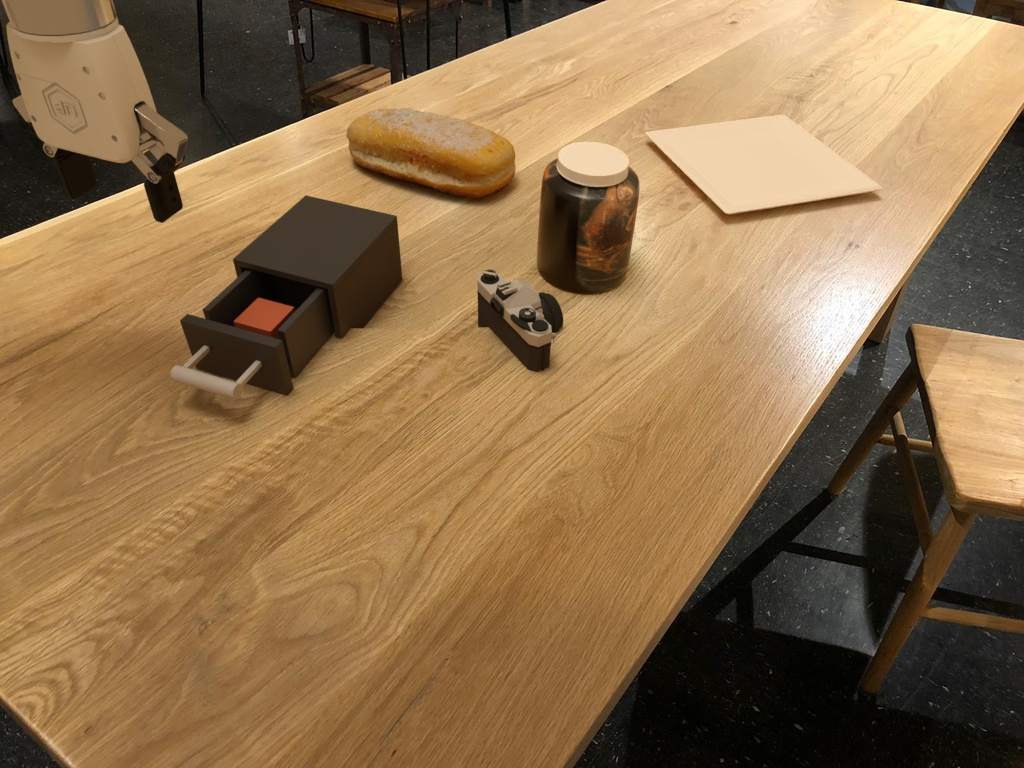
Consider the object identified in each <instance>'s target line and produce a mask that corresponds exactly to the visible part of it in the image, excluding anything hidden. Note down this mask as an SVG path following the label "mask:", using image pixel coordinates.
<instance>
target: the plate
mask: <svg viewBox="0 0 1024 768" xmlns="http://www.w3.org/2000/svg"><path fill="white" fill-rule="evenodd" d="M644 134H645V136H646V137H647V138H648V139H649V140H650V141H651V142H652V143H653V144H654V145H655V146H656V147H657V148H658V149H659V150H660V151H661V152H662V153H663V154H664V155H665V156H666V157H667V158H668V159H669V160H670V161H671V162H672V163H673V164H674V165H675V166H677V168H678V169H679V170H680V171H682V173H683V174H685V176H686V177H687V178H689V180H691V182H692V183H693V184H694V185H695V186H697V188H699V189H700V191H702V192H703V194H705V195H706V196H707V198H708V199H710V200H711V201H712V202H713V203H714V204H715V206H717V207H718V208H719V209H720V210H721V211H722V212H723V214H726V215H728V216H730V215H731V216H732V215H738V214H742V213H743V214H744V213H749V212H755V211H761V210H767V209H774V208H778V207H786V206H792V205H793V206H794V205H797V204H805V203H810V202H816V201H823V200H829V199H835V198H841V197H847V196H853V195H860V194H866V193H872V192H878V191H881V190H882V189H883V186H882V185H880V184H879V183H877V182H876V181H875V180H873V179H872V178H871V177H869V176H868V175H866V174H865V173H864V172H863V171H861V170H860V169H858V168H857V167H856V166H855V165H854V164H852V163H850V162H849V161H848V160H846V159H845V158H844V157H843V156H841V155H840V154H838V153H837V152H836V151H834V150H833V149H831V148H830V147H829V146H827V145H826V144H825V143H823V142H822V141H820V139H818V138H816V137H815V136H814V135H813V134H811V133H810V132H809V131H807V130H806V129H805V128H803V127H801V126H800V125H799V124H798V123H796V122H795V121H793V120H792V119H791V118H789V116H787V115H785V114H774V115H767V116H759V117H751V118H743V119H736V120H735V119H734V120H728V121H720V122H713V123H703V124H695V125H688V126H681V127H673V128H665V129H657V130H650V131H645V132H644Z"/></svg>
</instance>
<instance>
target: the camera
mask: <svg viewBox="0 0 1024 768" xmlns="http://www.w3.org/2000/svg"><path fill="white" fill-rule="evenodd" d="M476 282H477V289H476V290H477V291H476V294H477V328H489V329H490V330H491V332H492V333H493V334H494V335H495V336H496V337H497V338H498V339H499V340H500V341H501V342H502V343H503V344H504V346H506V348H507V349H508V350H509V351H510V352H511V353H512V354H513V355H514V356H515V357H516V358H517V360H518V361H519V362H520V363H521V364H522V365H523V366H524V367H525V368H526V369H527V370H529V371H532V372H534V373H539V372H540V371H542V372H545V369H548V368H550V359H551V346H552V344H555V340H556V338H557V334H556V333H558V332H559V331H560V330H561V329H562V328H563V325H564V313H563V311H562V308H561V305H560V303H559V301H558V300H557V298H556V297H555V296H554V295H553V294H551V293H549V292H544V291H540V292H537V291H536V289H535V288H533V286H531V285H530V284H529V283H528V282H527V281H526V280H525V279H522V278H521V279H520V278H516V279H515V280H513V281H512V280H510V279H508V280H505V278H503V277H502V276H501V275H500V274H499V273H497V271H496V270H494V269H486V270H484V271H483V273H479V274H477V281H476Z"/></svg>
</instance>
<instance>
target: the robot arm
mask: <svg viewBox="0 0 1024 768" xmlns="http://www.w3.org/2000/svg"><path fill="white" fill-rule="evenodd" d="M1 2H2V4H3V7H4V10H5V13H6V15H7V18H8V20H9V21H8V22H7V24H6V26H5V28H6V37H7V42H8V48H9V53H10V58H11V63H12V65H13V70H14V73H15V77H16V81H17V84H18V88H19V90H20V95H19V96H16V97H15V98H12V104H13V106H14V108H15V109H16V110H17V112H18V113H19V115H20V116H21V117H22V119H23V120H24V121H25V122H27V128H28V129H29V132H31V133H32V134H33V135H34V136H35V138H37V139H38V140H39V141H40V143H42V144H43V145H42V149H43V151H44V153H45V154H46V155H47V156H48V157H50V158H52V161H53V164H54V166H55V170H56V171H57V175H58V176H59V180H60V182H61V184H62V187H63V190H64V192H65V194H66V197H67V198H69V199H73V200H75V199H78V198H79V197H81V196H83V195H84V194H86V193H87V192H89V191H90V190H92V189H93V188H96V187H97V186H98V181H97V178H96V174H95V172H94V170H93V166H92V164H91V161H90V159H89V157H92V158H96V159H99V160H104V161H108V162H111V163H116V164H126V163H129V162H132V163H133V164H134V165H135V166H136V168H137V169H138V170H139V171H140V172H141V173H142V174H143V176H145V177H146V178H147V180H145V181H143V187H144V190H145V194H146V197H147V200H148V203H149V207H150V210H151V213H152V217H153V219H154V221H155V222H157V223H161V224H163V223H165V222H166V221H167V220H169V219H170V218H171V217H173V216H175V215H176V214H177V213H179V212H180V211H181V210H183V207H184V203H183V200H182V196H181V193H180V188H179V185H178V182H177V178H176V175H175V172H177V171H178V170H179V169H180V166H181V164H182V163H183V162H184V161H185V159H186V154H185V153H186V150H187V146H188V142H189V137H188V135H187V134H186V133H185V131H183V130H182V129H180V128H179V127H178V126H177V125H174V124H173V123H172V122H171V121H169V120H168V119H166V118H165V117H163V116H162V115H161V114H159V113H158V112H157V107H156V105H155V102H154V98H153V95H152V93H151V89H150V85H149V83H148V80H147V78H146V75H145V73H144V70H143V67H142V64H141V62H140V60H139V58H138V55H137V53H136V50H135V48H134V46H133V44H132V42H131V39H130V37H129V36H128V33H127V31H126V29H125V27H124V26H123V25H121V24H120V22H119V19H118V15H117V10H116V7H115V4H114V1H113V0H1ZM148 151H149V152H150V153H151V154H152V155H153V156H154V157H155V159H156V162H155V163H152V161H151V160H150V159H149V158H148V157H147V156H146V153H147V152H148Z"/></svg>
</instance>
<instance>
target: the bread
mask: <svg viewBox="0 0 1024 768" xmlns="http://www.w3.org/2000/svg"><path fill="white" fill-rule="evenodd" d="M346 138H347V140H348V150H349V154H350V156H351V157H352V159H353V160H354V162H355V163H356V164H357V165H359V166H360V167H362V168H365V169H368V170H370V171H373V172H375V173H379V174H384V175H385V176H389V177H393V178H395V179H399V180H401V181H405V182H408V183H411V184H413V185H416V186H419V187H421V188H425V189H429V190H433V191H436V192H439V193H440V192H441V193H445V194H449V195H452V196H455V197H459V198H463V199H464V198H465V199H478V198H483V197H487V196H490V195H493V194H496V193H498V192H500V191H502V190H503V189H505V188H506V187H508V185H509V183H510V182H511V181H512V180H513V179H514V177H515V174H516V169H517V168H516V167H517V166H516V152H515V148H514V145H513V144H512V143H511V141H510V140H508V139H507V138H505V137H504V136H503V135H500V134H498V133H497V132H495V131H493V130H490V129H488V128H485V127H484V126H480V125H477V124H474V123H472V122H469V121H466V120H464V119H460V118H457V117H453V116H448V115H442V114H438V113H434V112H429V111H428V112H427V111H421V110H417V109H412V108H409V107H408V108H403V107H402V108H379V109H375V110H371V111H368V112H366V113H364V114H362V115H360V116H359V117H357V118H355V119H354V120H353V121H352V122H350V123H349V125H348V127H347V129H346Z"/></svg>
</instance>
